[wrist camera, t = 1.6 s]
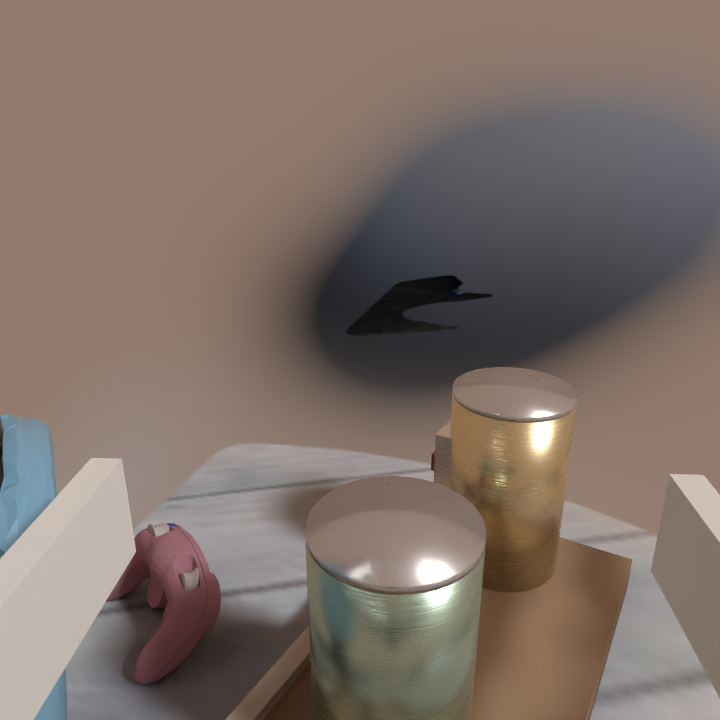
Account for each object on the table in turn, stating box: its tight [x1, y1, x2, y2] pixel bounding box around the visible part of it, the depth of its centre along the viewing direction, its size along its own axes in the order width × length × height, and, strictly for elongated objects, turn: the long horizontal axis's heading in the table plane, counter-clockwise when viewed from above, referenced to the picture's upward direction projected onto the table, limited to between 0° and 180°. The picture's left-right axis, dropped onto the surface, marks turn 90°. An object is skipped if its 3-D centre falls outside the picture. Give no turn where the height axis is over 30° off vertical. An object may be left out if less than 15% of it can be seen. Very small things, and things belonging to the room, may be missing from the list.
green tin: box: [305, 476, 486, 720], centre depth 29 cm, size 8×8×12 cm
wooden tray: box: [225, 537, 632, 720], centre depth 35 cm, size 16×32×3 cm, turn 150°
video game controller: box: [106, 523, 221, 684], centre depth 41 cm, size 10×5×7 cm, turn 35°
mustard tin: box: [431, 367, 577, 593], centre depth 42 cm, size 8×8×12 cm
